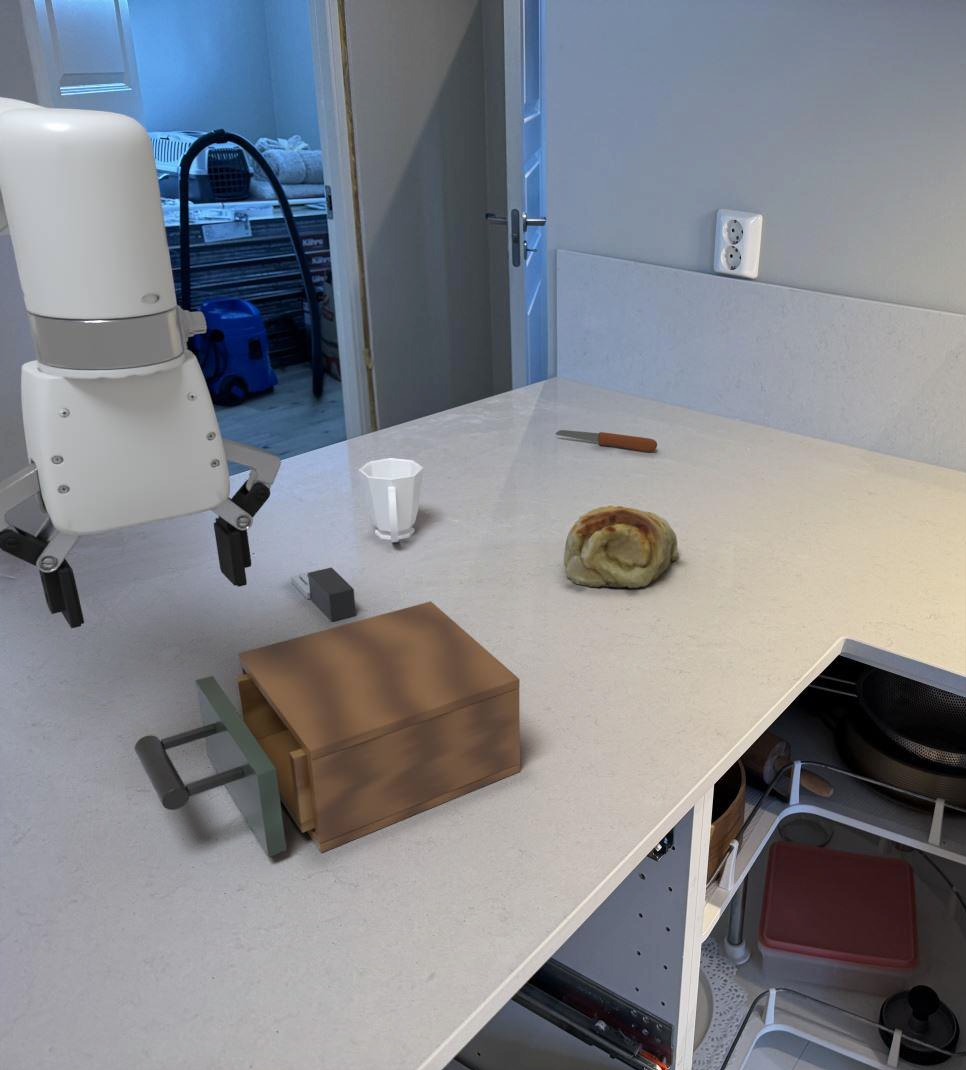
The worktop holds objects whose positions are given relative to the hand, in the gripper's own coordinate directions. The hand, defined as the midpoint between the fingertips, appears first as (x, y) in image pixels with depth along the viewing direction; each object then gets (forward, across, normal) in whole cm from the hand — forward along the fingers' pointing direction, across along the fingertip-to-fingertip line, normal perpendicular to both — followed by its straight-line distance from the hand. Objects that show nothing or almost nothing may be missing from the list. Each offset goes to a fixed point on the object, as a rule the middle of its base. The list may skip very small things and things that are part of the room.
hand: (156, 597), depth 65 cm
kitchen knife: (+17, -73, -48) cm, 89 cm away
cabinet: (+17, -13, +3) cm, 22 cm away
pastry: (+17, -50, -14) cm, 54 cm away
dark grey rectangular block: (+17, -20, -25) cm, 36 cm away
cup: (+17, -32, -34) cm, 50 cm away
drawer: (+16, -7, +3) cm, 18 cm away
